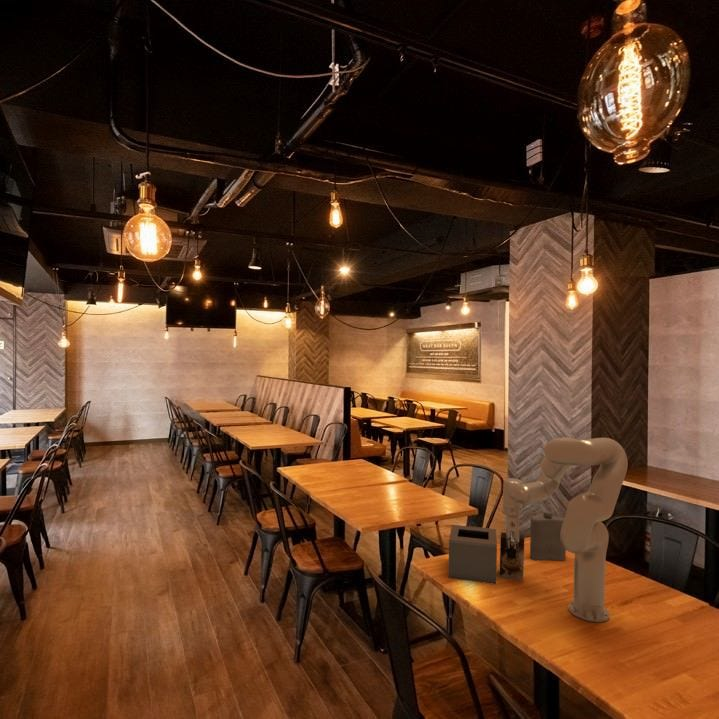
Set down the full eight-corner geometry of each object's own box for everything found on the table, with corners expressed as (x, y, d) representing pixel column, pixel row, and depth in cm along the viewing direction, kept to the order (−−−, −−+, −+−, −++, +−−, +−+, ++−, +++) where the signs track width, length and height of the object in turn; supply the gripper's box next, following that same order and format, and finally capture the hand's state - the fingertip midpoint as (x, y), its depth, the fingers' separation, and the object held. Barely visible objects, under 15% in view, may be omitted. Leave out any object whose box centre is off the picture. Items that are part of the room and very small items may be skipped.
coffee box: (499, 577, 191) (500, 536, 191) (499, 571, 197) (500, 531, 197) (523, 581, 188) (524, 539, 188) (523, 574, 194) (524, 534, 194)
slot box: (496, 584, 185) (496, 544, 185) (448, 578, 190) (449, 539, 190) (495, 564, 203) (495, 529, 203) (451, 559, 207) (452, 524, 207)
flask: (561, 555, 214) (562, 510, 214) (567, 561, 208) (568, 514, 208) (527, 555, 214) (528, 509, 214) (532, 560, 208) (533, 514, 208)
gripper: (523, 518, 183) (522, 563, 184) (520, 504, 200) (519, 546, 201) (503, 516, 185) (501, 560, 186) (501, 502, 202) (500, 543, 202)
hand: (510, 553), depth 193 cm, fingers open, 9 cm apart
